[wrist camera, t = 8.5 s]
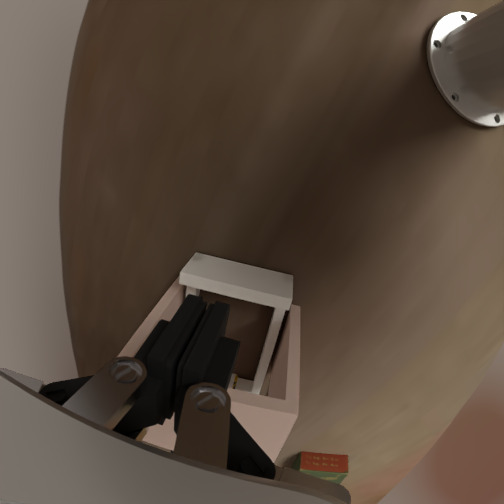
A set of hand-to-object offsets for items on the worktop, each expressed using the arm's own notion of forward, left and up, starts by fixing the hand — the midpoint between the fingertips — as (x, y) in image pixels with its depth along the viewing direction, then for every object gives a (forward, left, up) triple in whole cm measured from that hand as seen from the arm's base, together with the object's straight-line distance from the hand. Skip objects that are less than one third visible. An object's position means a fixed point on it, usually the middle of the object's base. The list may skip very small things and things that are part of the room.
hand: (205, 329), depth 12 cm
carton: (-18, +43, -21) cm, 51 cm away
